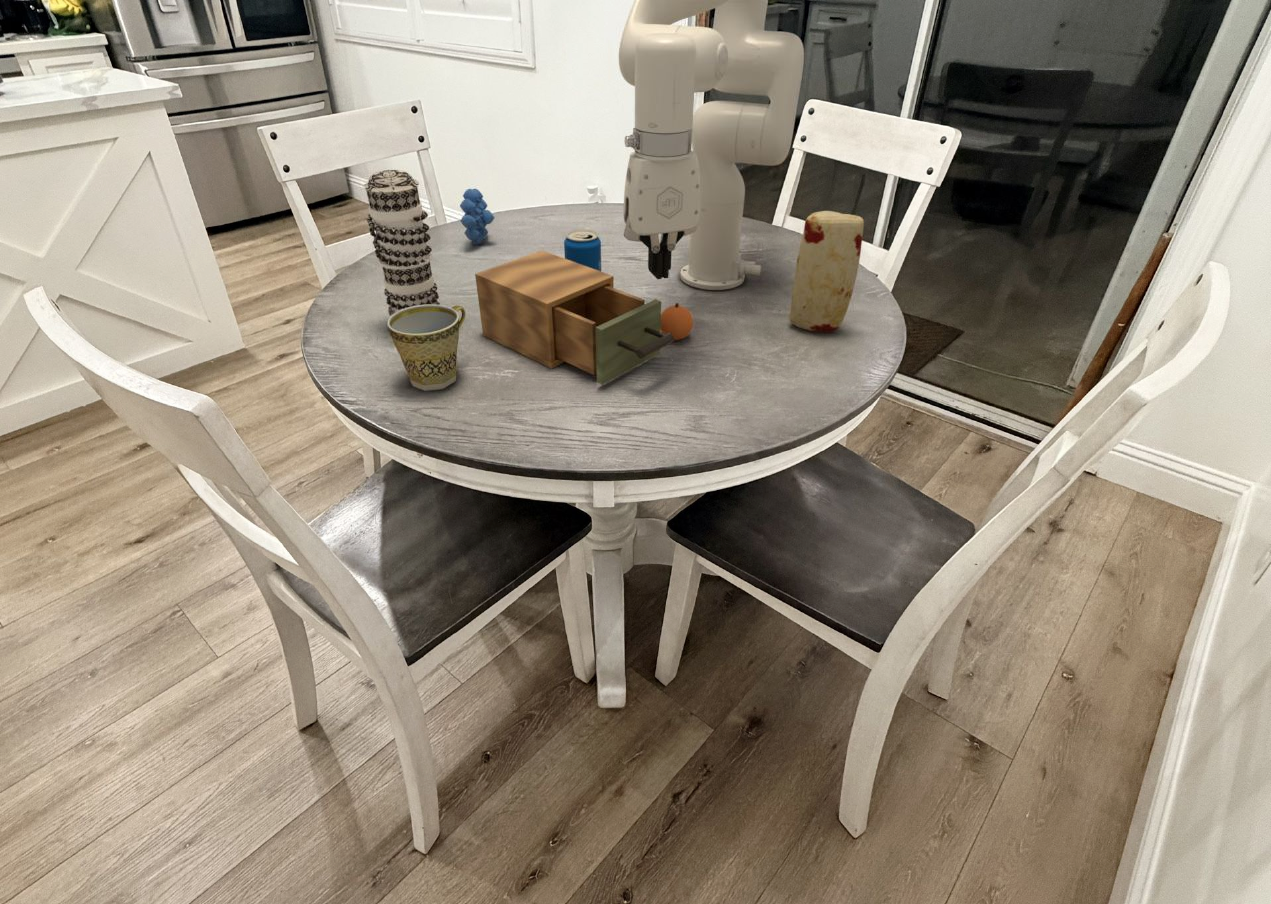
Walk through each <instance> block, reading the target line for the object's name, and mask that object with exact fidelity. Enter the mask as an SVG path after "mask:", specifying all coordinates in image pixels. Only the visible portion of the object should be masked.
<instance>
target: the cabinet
mask: <svg viewBox="0 0 1271 904" xmlns="http://www.w3.org/2000/svg"><path fill="white" fill-rule="evenodd" d="M474 276H475V284H476V285H475V286H476V292H477V299H478V308H479V313H480V314H479V315H480V321H481V322H480V323H481V331H482V336H483V337H486V338H488V339H490V340H492V341H494V342H496V343H498V344H499V345H502V346H504V347H506V348H507V349H510V350H513V351H515V352H517V353H519V354H521V355H522V356H525V357H527V358H529V359H531V360H533V361H535V362H537V363H540V364H541V365H544V366H546V367H547V368H549V369H553V368H555V367H557V366H560V365H562V364H564V363H566V362H565V361H563V360H561V359H559V358H557V357H555V350H554V335H553V320H552V307H554V306H556V305H559V304H561V303H563V302H566V301H568V300H570V299H573V298H575V297H578V296H580V295H582V294H585V293H587V292H589V291H592V290H594V289H596V288H599V287H601V286H603V285H607V286H609V287H612V288H615V286H614V282H615V281H614V280H615V279H614V278H615V277H614V275H613V274H612V275H611V274H609V273H606V272H604V271H602V270H601V271H598V270H595V269H592V268H590V267H587V266H584V265H581V264H579V263H576V262H573V261H570V260H567V259H565V257H561V256H559V255H556V254H553V253H551V252H548V251H545V250H539V251H535V252H533V253H530V254H527V255H525V256H522V257H519V258H516V259H513V260H510V261H507V262H505V263H502V264H499V265H496V266H493V267H491V268H488V269H485V270H482V271H478V272H476V273H474Z"/></svg>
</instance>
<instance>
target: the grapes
mask: <svg viewBox="0 0 1271 904" xmlns="http://www.w3.org/2000/svg"><path fill="white" fill-rule="evenodd" d="M462 197H463V200H462V201H461V202H460V205H459V208H460V209H461V211H462V212H464V215H463V216H461V218H460V223H461V224H462V226H463V227H464V228H466V229H465V231H464V235H465V236H466V238H467V239H468V240H469V241H471V242H472V243H473V244H474V245H481V244H482V243H483V242H484V240H485V238H486V237H487V235H488V234H489V231H488V229H487V228H486V227H487V225H491V224H492V223H493V222H494V220H495V218H496V217H495V215H494V214H493V213H492V212H491V211H490V210H489V209H487V208H488V203H487V202H486V201H485V200H484V199H483V198H484V195H483V194H482V192H481V191H480V190H479V189H477V188H467V189H465V191H464V192H463V194H462Z"/></svg>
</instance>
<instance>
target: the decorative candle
mask: <svg viewBox="0 0 1271 904" xmlns="http://www.w3.org/2000/svg"><path fill="white" fill-rule="evenodd" d="M419 185H420V181H419V180H417V179H414V177H413V176H412V175H411V174H410V173H408V172H407V171H404V170H400V169H386V170H379V171H377V172H374V173H372V174H371V175H370V177H369V178H368V182H366V183H364V185H363V189H365V191H366V196H367V201H368V208H367V209H368V212H369V213H368V214H367V217H366V222H367V224H368V226H369V228H368V231H369V234H370V236H372V237H373V240H372V245H373V247H374V249H375V250H374V253H375V257H376V259H377V264H379V265H380V267H382V272H383V276H384V278H383V284H384V291H383V292H384V295H385V297H386V298H385V299H386V304H387V305H388V308H387V313H388V315H389V317H390V316H391V315H393V314H394V313H396V312H397V311H399V310H402V309H405V308H408V307H412V306H417V305H425V304H436V305H441V302H440V301H438V300H439V298H440V297H439V296H440V295H439V293H438V291H437V290H438V285H437V283H436V282H435V277H434V273H433V271H432V266H431V261H432V259H433V254H432V253H431V252H432V251H433V250H432V248H431V246H429V245H428V244H427V243H428V242H429V241H430V240H431V239H432V238H431V235H430V234H429V233H427V232H428V231H429V230H430V226H429V225H428V224H426V222H424V220H426V218H428V217H429V214H428V213H427V212H426V211H425V210H423V204H422V201H421V200H420V194H419V188H418V186H419Z"/></svg>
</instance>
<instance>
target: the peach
mask: <svg viewBox="0 0 1271 904" xmlns="http://www.w3.org/2000/svg"><path fill="white" fill-rule="evenodd" d="M693 326H694V317H693V315H692V313H691V311H689V310H688V308H686V307H685V306H682V305H679V302H676V303H675V304H674V305H670V306H668V307H666V308H665V309H664V310H662V311H661V328H660V332H661V333H663V334H668V333H671V334H673V335H674V338H675V339H674V341H677V340H682V339H684V338H686V337H688V336H689V334H690V333H691V332H692V330H693Z"/></svg>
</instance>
